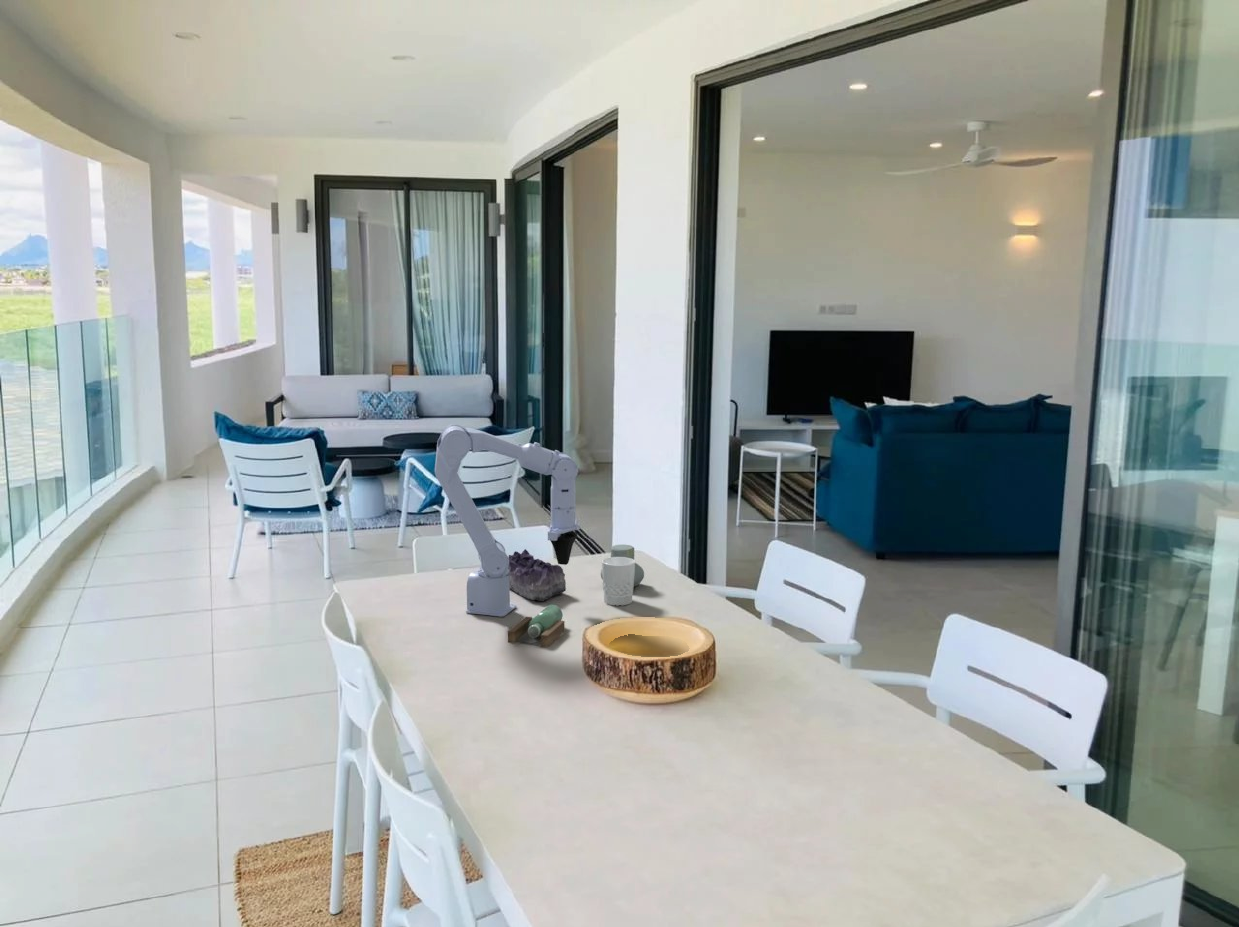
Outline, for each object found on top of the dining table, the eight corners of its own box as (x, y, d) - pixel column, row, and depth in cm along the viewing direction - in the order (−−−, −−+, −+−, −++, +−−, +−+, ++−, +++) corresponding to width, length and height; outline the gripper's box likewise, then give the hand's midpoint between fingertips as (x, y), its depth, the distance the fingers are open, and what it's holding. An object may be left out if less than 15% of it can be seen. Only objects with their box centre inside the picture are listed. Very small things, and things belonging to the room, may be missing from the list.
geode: (487, 586, 253) (490, 547, 253) (525, 584, 260) (529, 546, 260) (531, 603, 237) (535, 561, 237) (571, 601, 245) (575, 560, 244)
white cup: (634, 607, 237) (635, 565, 236) (601, 606, 237) (601, 565, 236) (634, 596, 245) (635, 556, 243) (602, 596, 245) (602, 556, 244)
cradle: (507, 642, 213) (507, 630, 212) (526, 627, 222) (526, 616, 222) (547, 647, 210) (547, 635, 210) (564, 631, 220) (564, 620, 219)
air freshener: (649, 585, 255) (649, 546, 253) (632, 593, 248) (632, 553, 246) (612, 578, 261) (613, 540, 259) (595, 586, 254) (595, 547, 252)
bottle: (541, 619, 224) (521, 637, 213) (546, 602, 223) (526, 618, 212) (559, 626, 223) (540, 644, 212) (564, 608, 222) (545, 625, 211)
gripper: (568, 514, 225) (568, 573, 227) (589, 501, 239) (589, 557, 241) (539, 512, 227) (539, 570, 229) (561, 499, 241) (561, 554, 243)
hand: (563, 563), depth 235 cm, fingers closed
